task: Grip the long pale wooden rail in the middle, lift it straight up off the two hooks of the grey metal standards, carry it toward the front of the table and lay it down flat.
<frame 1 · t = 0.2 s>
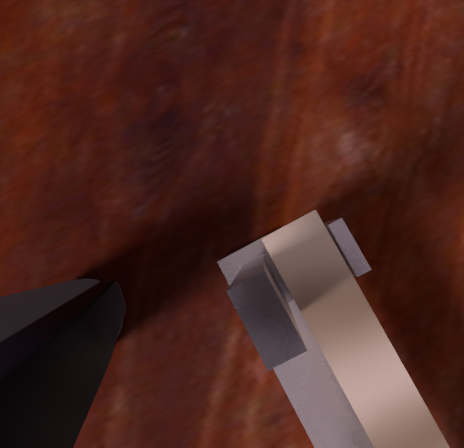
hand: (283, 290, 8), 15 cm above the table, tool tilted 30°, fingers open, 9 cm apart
bottle: (89, 315, 24), on the table
standards: (361, 379, 21), on the table
rail: (388, 416, 17), point 4 cm above the table, touching standards
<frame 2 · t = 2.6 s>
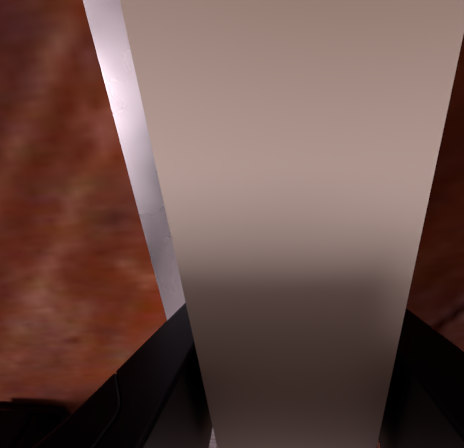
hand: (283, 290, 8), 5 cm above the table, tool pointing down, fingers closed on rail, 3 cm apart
standards: (278, 214, 12), on the table
rail: (283, 290, 8), point 4 cm above the table, touching gripper, standards
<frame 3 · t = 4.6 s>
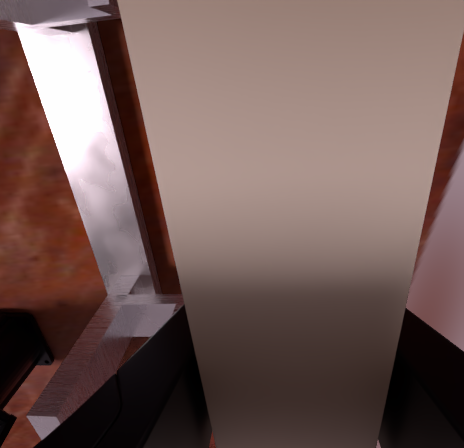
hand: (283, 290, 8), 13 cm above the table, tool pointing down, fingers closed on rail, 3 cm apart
standards: (146, 168, 21), on the table
rail: (283, 289, 8), point 13 cm above the table, touching gripper
when the fingers open (1 cm above the table, at t = 6.5 s): rail drops 2 cm, on the table.
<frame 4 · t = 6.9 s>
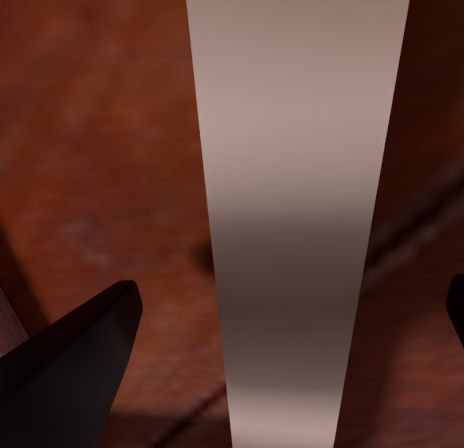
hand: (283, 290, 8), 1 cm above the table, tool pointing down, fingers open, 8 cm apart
standards: (15, 265, 10), on the table
rail: (280, 250, 10), on the table
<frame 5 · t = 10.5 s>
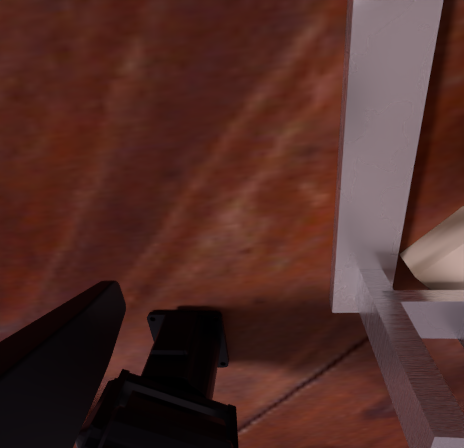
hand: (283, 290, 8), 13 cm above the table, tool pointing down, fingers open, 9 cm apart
standards: (425, 145, 18), on the table
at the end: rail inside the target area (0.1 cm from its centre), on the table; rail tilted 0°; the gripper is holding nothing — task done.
